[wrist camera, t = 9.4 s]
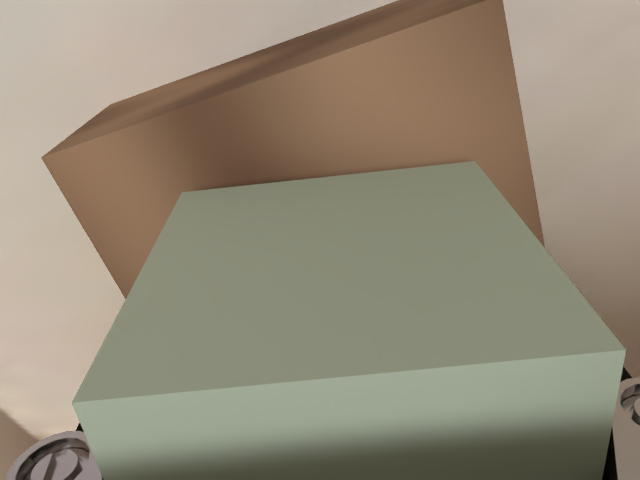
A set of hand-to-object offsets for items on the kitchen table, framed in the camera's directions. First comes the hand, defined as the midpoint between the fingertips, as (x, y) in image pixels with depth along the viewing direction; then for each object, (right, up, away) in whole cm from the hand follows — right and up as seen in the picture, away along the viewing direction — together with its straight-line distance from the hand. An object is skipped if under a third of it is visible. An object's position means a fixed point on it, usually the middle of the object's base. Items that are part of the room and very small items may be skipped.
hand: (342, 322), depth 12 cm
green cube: (0, 0, +1) cm, 1 cm away
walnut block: (0, +3, +6) cm, 7 cm away
